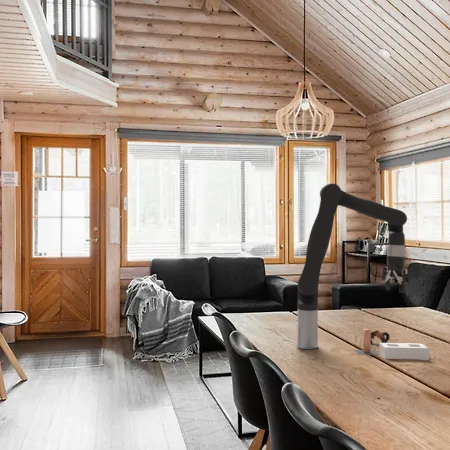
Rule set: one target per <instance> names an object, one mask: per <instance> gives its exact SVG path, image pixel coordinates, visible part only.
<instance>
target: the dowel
mask: <svg viewBox="0 0 450 450" xmlns="http://www.w3.org/2000/svg"><path fill="white" fill-rule="evenodd" d="M362 335H363V345H362V346H363V347H362V350H363V353H370V350H372V349H371V346H372V345H371V344H372V343H371V339H372V338H371V329H370V328H363V334H362Z"/></svg>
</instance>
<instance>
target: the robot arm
mask: <svg viewBox="0 0 450 450" xmlns="http://www.w3.org/2000/svg"><path fill="white" fill-rule="evenodd" d="M319 197H320V201H319V208H318V212H317V215H316V217H315V220H314V222H313V224H312V227H311V229H310V233H309V236H308V240H307V241H308V242H307V245H306V254H305V262H304V266H303V268H302V271H301V274H300V276H299V278H298V280H297V321H296V322H297V325H296V346H297V349H302V350H316V349H318V348H319V347H318V346H319V284H320V283H319V281H320V276H321V275H320V274H321V270H322V265H323V262H324V260H325V257H326V255H327V252H328V248H329V245H330V241H331V238H332V232H333V226H334V219H335V215H336V212H337V210H338V206H340V207H344V208H346V209H349V210H352V211H355V212H357V213H360V214H362V215H365V216H367V217H369V218H372V219H374V220H378V221H383V222H386V223H387V231H388V238H387V239H388V241H387V242H388V243H387V249H386V251H387V254H386V265H387V266H383V267H382V277H381V279H382V280H383V281H384V282H385V286H384V287H385V290H386V291H391V288H392V287H391V285H392V282H391V281H392V279H396V280H397V281H398V283H399V286H398V293H400V294H404V293H405V289H406V288H405V285H406V284H409V283H410V280H409V275H410V274H409V273H410V272H409V271H410V270H409V269H407V268H406V269H404V266H405V263H406V262H405V260H406V259H405V258H406V257H405V256H406V248H405V244H406V243H405V241H406V239H405V238H406V236H405V233H404V225H405V224H406V223H407V221H408V217H407V214H406V213H405V212H404V211H402V210H400V209H396V208H393V207H390V206H386V205H384V204H382V203H380V202H376V201H374V200H370V199H368V198H364V197H359V196H357V195H353V194H350V193H348V192H345V191H344V190H343V189H342V188H341V187H340V186H339V185H338V183H330V182H329V183H326V184H325V185H324V186H322V187H321V189H320V191H319Z"/></svg>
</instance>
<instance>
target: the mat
mask: <svg viewBox="0 0 450 450" xmlns="http://www.w3.org/2000/svg"><path fill="white" fill-rule="evenodd" d="M354 351H355V353H356V354H357V355H358V356H380V354H379V353H378V351H376V350H374V349H371V350H370V353H363V349H354Z"/></svg>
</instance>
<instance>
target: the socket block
mask: <svg viewBox="0 0 450 450" xmlns="http://www.w3.org/2000/svg"><path fill="white" fill-rule="evenodd" d="M378 346H379V350H378V352H379V353H378V354H379V356H381V357H382V358H383V359H387V360H391V359H392V360H394V359H395V360H422V361H429V360H430V359H429V357H430V348H429V347H428V346H427V345H425V344H423V343H417V342H416V343H414V342H413V343H412V342H410V343H409V342H406V343H405V342H386V343H381V342H379V343H378Z"/></svg>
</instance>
